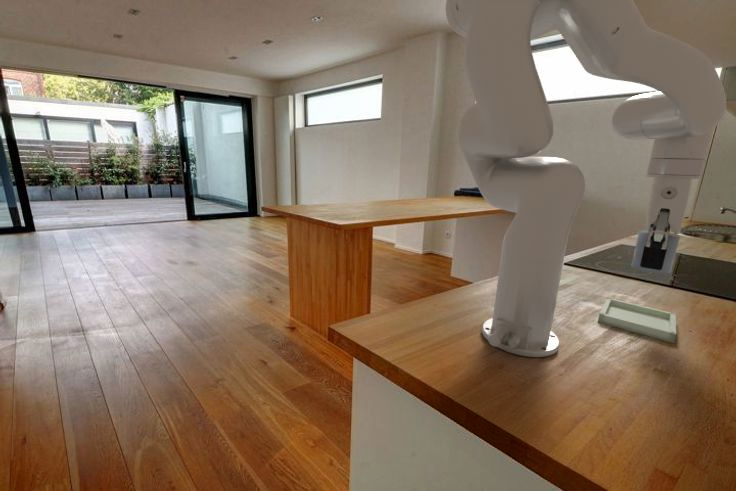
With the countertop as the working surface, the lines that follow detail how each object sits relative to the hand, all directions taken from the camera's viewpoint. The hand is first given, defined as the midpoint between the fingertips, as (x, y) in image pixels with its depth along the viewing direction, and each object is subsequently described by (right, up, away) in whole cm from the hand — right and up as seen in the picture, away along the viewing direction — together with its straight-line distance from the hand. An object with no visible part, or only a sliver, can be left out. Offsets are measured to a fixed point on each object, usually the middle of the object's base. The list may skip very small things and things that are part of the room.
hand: (651, 263), depth 66 cm
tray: (-1, -12, +3) cm, 12 cm away
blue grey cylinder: (0, -1, 0) cm, 1 cm away
